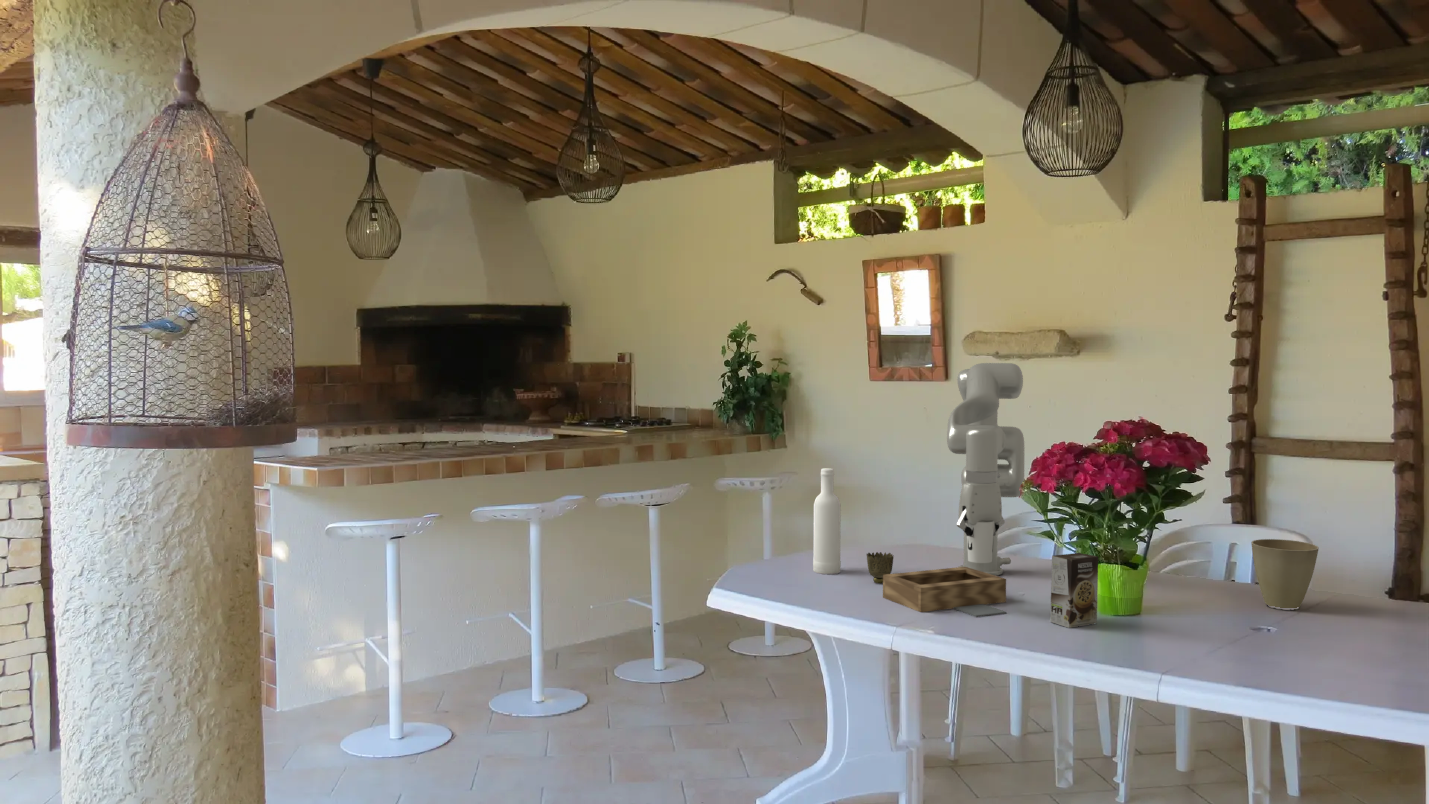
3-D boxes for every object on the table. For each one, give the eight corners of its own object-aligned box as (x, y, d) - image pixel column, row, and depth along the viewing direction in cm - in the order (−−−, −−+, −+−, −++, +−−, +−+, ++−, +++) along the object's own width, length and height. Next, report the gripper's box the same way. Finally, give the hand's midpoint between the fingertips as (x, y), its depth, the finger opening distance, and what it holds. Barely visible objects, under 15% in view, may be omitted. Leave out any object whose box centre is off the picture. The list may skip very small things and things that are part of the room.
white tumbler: (962, 561, 266) (963, 521, 265) (969, 557, 271) (970, 517, 271) (990, 564, 262) (990, 523, 262) (996, 559, 268) (997, 519, 268)
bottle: (821, 567, 320) (822, 466, 319) (845, 570, 316) (846, 468, 314) (808, 572, 314) (808, 469, 312) (831, 575, 309) (832, 471, 308)
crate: (964, 588, 293) (965, 566, 292) (1005, 602, 277) (1006, 578, 277) (882, 597, 282) (883, 574, 282) (920, 612, 267) (920, 588, 266)
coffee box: (1069, 628, 251) (1071, 559, 250) (1049, 622, 257) (1050, 554, 256) (1098, 624, 255) (1099, 556, 255) (1077, 618, 261) (1078, 551, 260)
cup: (895, 585, 296) (895, 556, 296) (868, 585, 296) (868, 556, 296) (891, 580, 304) (891, 551, 303) (865, 579, 304) (865, 551, 303)
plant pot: (1241, 607, 271) (1243, 544, 271) (1260, 597, 282) (1261, 536, 281) (1307, 617, 261) (1309, 552, 260) (1324, 607, 272) (1325, 544, 271)
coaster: (983, 605, 274) (983, 603, 274) (1006, 613, 265) (1006, 611, 265) (953, 608, 270) (953, 607, 270) (976, 617, 262) (976, 615, 262)
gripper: (998, 474, 273) (998, 547, 274) (944, 477, 266) (943, 552, 267) (1018, 478, 266) (1017, 552, 267) (963, 481, 259) (962, 557, 260)
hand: (980, 551), depth 267 cm, fingers closed on white tumbler, 3 cm apart
